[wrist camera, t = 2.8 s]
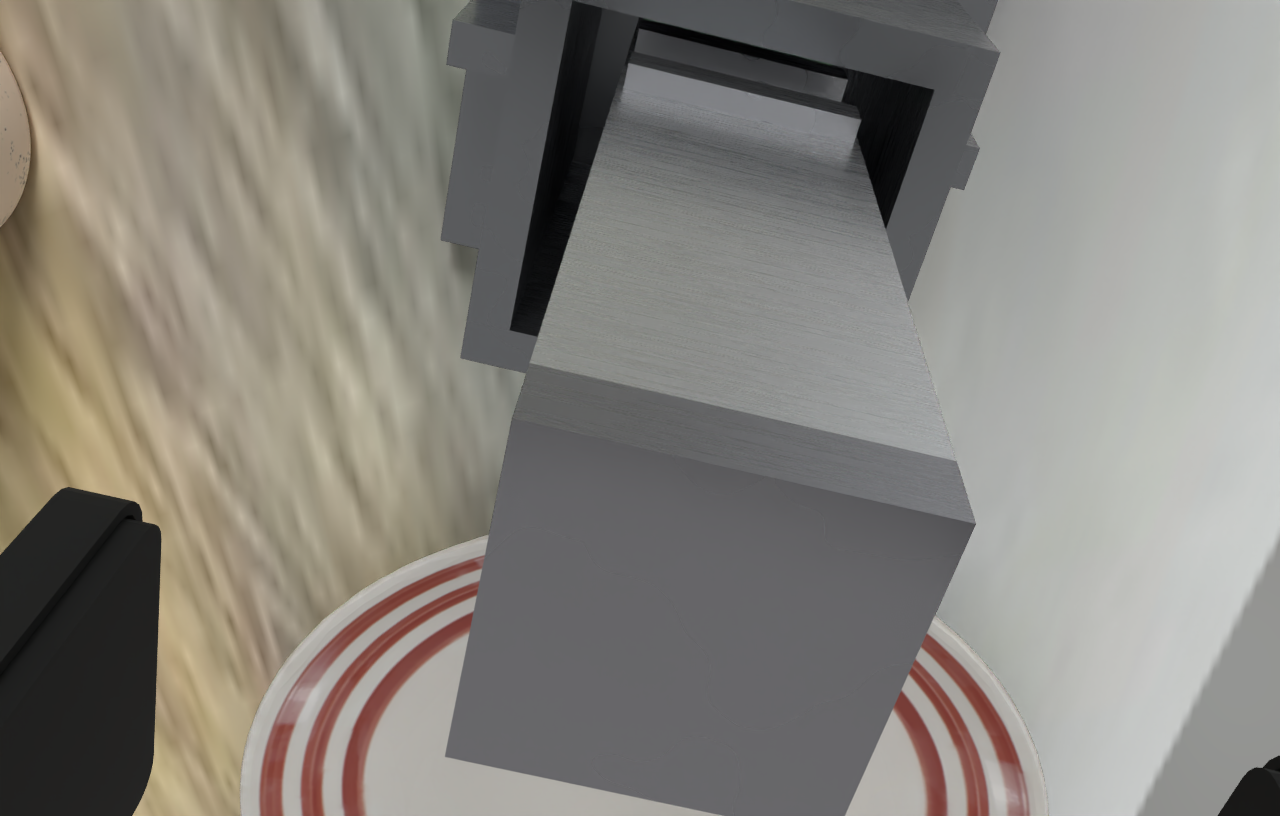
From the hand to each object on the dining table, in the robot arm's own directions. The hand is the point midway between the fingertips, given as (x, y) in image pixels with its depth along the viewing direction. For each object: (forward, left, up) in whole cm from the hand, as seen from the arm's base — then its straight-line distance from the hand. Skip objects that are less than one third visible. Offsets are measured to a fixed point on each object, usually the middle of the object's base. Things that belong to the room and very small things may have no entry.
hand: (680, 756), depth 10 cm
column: (0, 0, -22) cm, 22 cm away
